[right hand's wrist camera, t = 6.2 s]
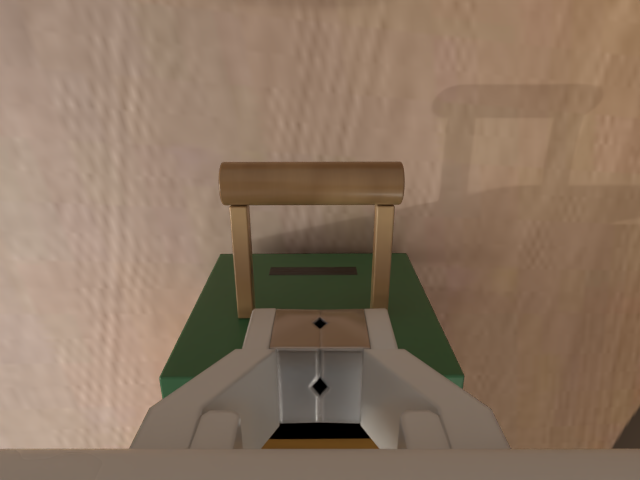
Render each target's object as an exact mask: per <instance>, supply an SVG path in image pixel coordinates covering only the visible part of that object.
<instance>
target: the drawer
mask: <svg viewBox="0 0 640 480" xmlns="http://www.w3.org/2000/svg"><path fill="white" fill-rule="evenodd" d="M404 185H405V177H404V168H403V165H402V163H401V162H223V163H221V166H220V170H219V193H220V198H221V201H222V204H223V205H231V206H230V208H229V210H230V223H231V235H232V248H233V254H220V256H219V258H218V260H217V262H216V264H215V266H214V268H213V270H212V272H211V274H210V276H209V278H208V280H207V282H206V284H205V286H204V288H203V290H202V292H201V294H200V296H199V298H198V300H197V302H196V305H195V307H194V309H193V311H192V313H191V315H190V317H189V319H188V321H187V323H186V325H185V327H184V329H183V331H182V333H181V335H180V337H179V339H178V341H177V343H176V345H175V347H174V349H173V351H172V353H171V355H170V357H169V359H168V361H167V363H166V365H165V367H164V369H163V371H162V373H161V375H160V377H159V380H160V386H161V392H162V398H163V399H164V398H165V397H167V396H168V395H169V394H171V393H172V392H174V391H175V390H177V389H178V388H180V387H181V386H183V385H184V384H185V383H187V382H188V381H190V380H191V379H193V378H194V377H196V376H197V375H199V374H200V373H201V372H203V371H204V370H206V369H207V368H209V367H210V366H212V365H213V364H215V363H216V362H217V361H219V360H220V359H222V358H223V357H225V356H226V355H228V354H229V353H231V352H232V351H234V350H235V349H242V347H243V343H244V340H245V336H246V332H247V329H248V325H249V321H250V318H251V314H252V311H253V310H254V309H260V308H275V309H320V310H331V309H374V308H385V309H387V311H388V315H389V318H390V322H391V325H392V329H393V333H394V336H395V340H396V343H397V347H398V349H405V350H407V351H408V352H409V353H411V354H412V355H414V356H415V357H417V358H418V359H420V360H421V361H422V362H424V363H425V364H427V365H428V366H430V367H431V368H433V369H434V370H435V371H437V372H438V373H440V374H441V375H443V376H444V377H446V378H447V379H449V380H450V381H451V382H453V383H454V384H456V385H457V386H459V387H460V388H462V389H463V383H464V374H463V372H462V370H461V368H460V365H459V363H458V361H457V359H456V357H455V355H454V353H453V351H452V349H451V346H450V344H449V342H448V340H447V338H446V336H445V334H444V332H443V330H442V328H441V325H440V323H439V321H438V319H437V317H436V315H435V313H434V311H433V309H432V306H431V304H430V302H429V300H428V298H427V296H426V294H425V292H424V290H423V287H422V285H421V283H420V281H419V279H418V277H417V275H416V273H415V271H414V269H413V266H412V264H411V262H410V260H409V258H408V256H407V254H406V253H392V240H393V224H394V209H395V207H394V205H399V204H401V202H402V200H403V196H404ZM249 205H375V217H374V238H373V253H358V254H252V243H251V227H250V211H249ZM366 438H370V437H369V435H368V434H367V433H366V432H365V430H364V429H363V428H362V427H361V423H324V422H315V423H279V427H278V428H277V429H276V431H275V432H274V433H273V434H272V436H271V437H270V438H269V439H366Z"/></svg>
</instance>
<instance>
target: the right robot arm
mask: <svg viewBox="0 0 640 480" xmlns="http://www.w3.org/2000/svg"><path fill="white" fill-rule="evenodd" d="M315 422H324V423H361V427H362V428H363V429H364V430H365V432H366V433H367V434H368V435H369V437H370V438H371V439H372V440H373V442H374V443H375V444H376V445H377V447H378V448H379V449H261V448H262V447H263V446H264V444H265V443H266V442H267V441H268V439H269V438H270V437H271V436H272V434H273V433H274V432H275V431H276V429H277V428H278V427H279V423H315ZM0 480H640V449H511V448H510V446H509V444H508V442H507V440H506V438H505V436H504V434H503V432H502V430H501V428H500V426H499V424H498V422H497V420H496V418H495V416H494V414H493V412H492V409H491V408H489V407H488V406H486V405H485V404H483V403H482V402H480V401H479V400H477V399H476V398H475V397H473V396H472V395H470V394H469V393H467V392H466V391H464V390H463V389H462V388H460V387H459V386H457V385H456V384H454V383H453V382H451V381H450V380H449V379H447V378H446V377H444V376H443V375H441V374H440V373H438V372H437V371H435V370H434V369H433V368H431V367H430V366H428V365H427V364H425V363H424V362H422V361H421V360H420V359H418V358H417V357H415V356H414V355H412V354H411V353H409V352H408V351H407V350H405V349H398V347H397V343H396V340H395V336H394V333H393V329H392V325H391V322H390V318H389V315H388V311H387V309H385V308H374V309H331V310H320V309H275V308H260V309H254V310H253V311H252V314H251V318H250V321H249V325H248V329H247V332H246V336H245V340H244V343H243V347H242V349H235V350H234V351H232V352H231V353H229V354H228V355H226V356H225V357H223V358H222V359H220V360H219V361H217V362H216V363H215V364H213V365H212V366H210V367H209V368H207V369H206V370H204V371H203V372H201V373H200V374H199V375H197V376H196V377H194V378H193V379H191V380H190V381H188V382H187V383H185V384H184V385H183V386H181V387H180V388H178V389H177V390H175V391H174V392H172V393H171V394H169V395H168V396H167V397H165V398H164V399H162V400H161V401H159V402H158V403H156V404H155V405H153V406H152V407H151V408H149V410H148V412H147V414H146V416H145V418H144V420H143V422H142V424H141V426H140V428H139V430H138V432H137V434H136V436H135V438H134V440H133V442H132V444H131V446H130V448H129V449H0Z"/></svg>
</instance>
